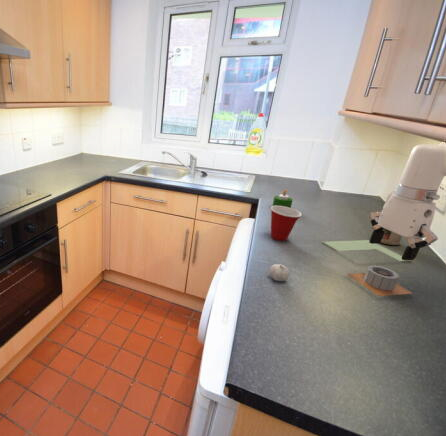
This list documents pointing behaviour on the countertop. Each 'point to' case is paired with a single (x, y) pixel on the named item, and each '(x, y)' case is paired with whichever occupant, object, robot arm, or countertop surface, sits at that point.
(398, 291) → the stand
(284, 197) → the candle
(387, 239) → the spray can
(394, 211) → the robot arm
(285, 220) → the plastic cup
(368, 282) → the tape roll
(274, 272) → the garlic
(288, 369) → the countertop surface
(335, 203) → the countertop surface
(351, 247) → the mat
